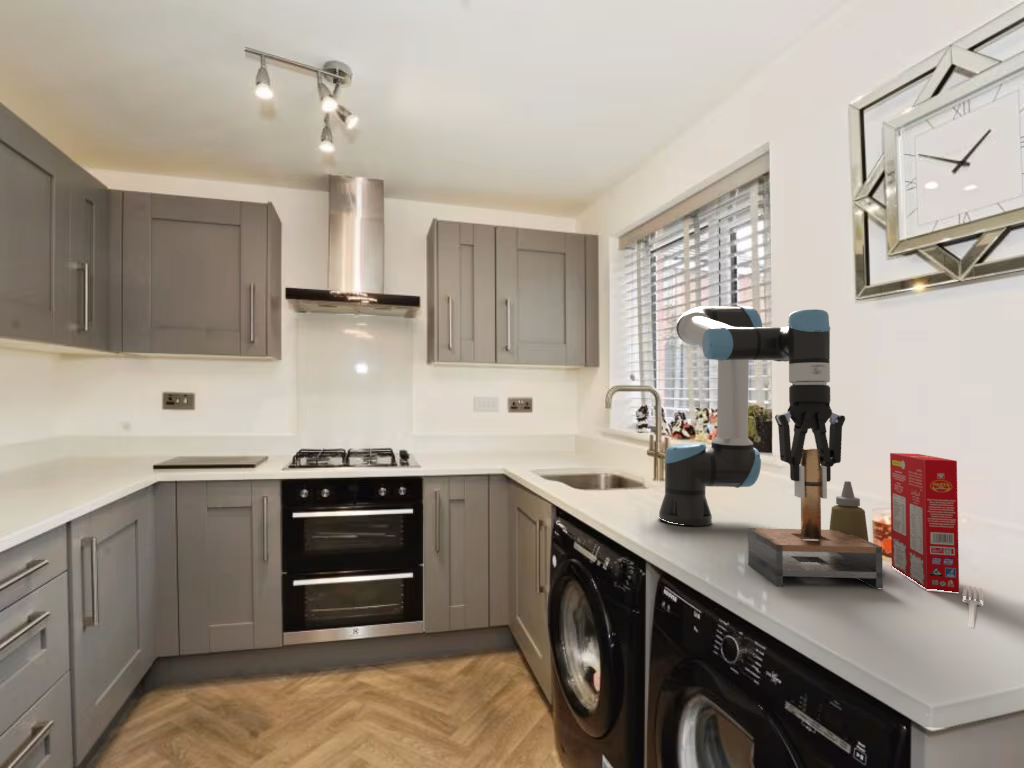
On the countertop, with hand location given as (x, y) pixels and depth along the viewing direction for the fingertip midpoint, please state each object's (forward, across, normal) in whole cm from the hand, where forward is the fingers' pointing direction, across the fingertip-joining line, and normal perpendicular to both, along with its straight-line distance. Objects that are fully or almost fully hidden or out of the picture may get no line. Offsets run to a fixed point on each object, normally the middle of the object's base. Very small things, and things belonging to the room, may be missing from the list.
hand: (810, 496), depth 111 cm
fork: (+17, +19, -17) cm, 30 cm away
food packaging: (+17, +22, -1) cm, 27 cm away
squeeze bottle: (+16, +14, +12) cm, 25 cm away
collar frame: (+16, 0, 0) cm, 16 cm away
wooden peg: (+8, 0, 0) cm, 8 cm away
